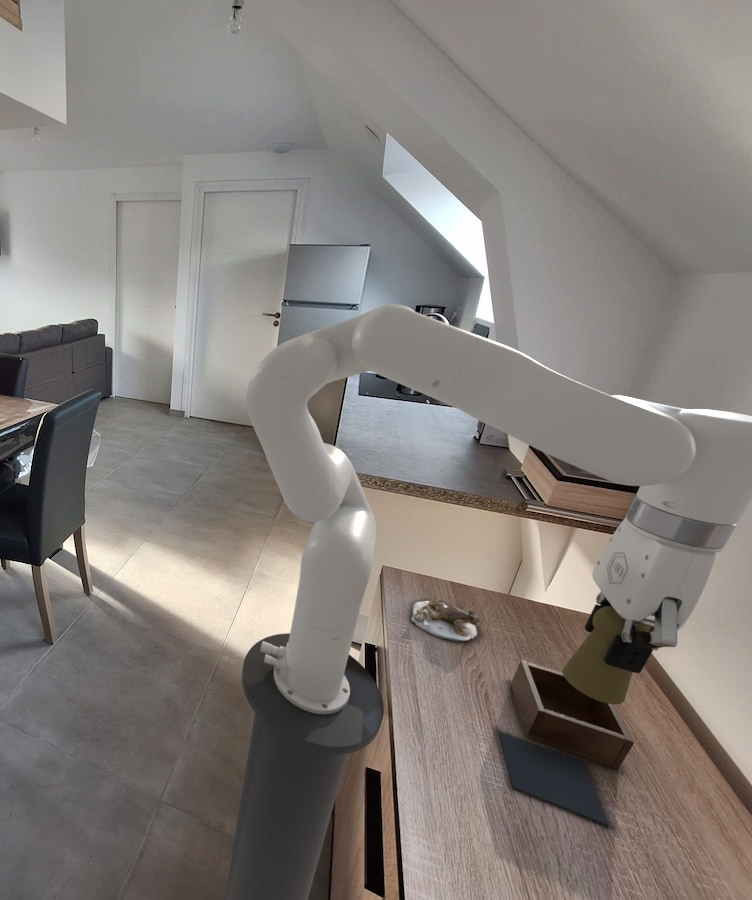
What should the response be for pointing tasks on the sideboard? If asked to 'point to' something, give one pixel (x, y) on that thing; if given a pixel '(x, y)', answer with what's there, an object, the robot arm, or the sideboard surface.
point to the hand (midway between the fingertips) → (610, 648)
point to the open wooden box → (568, 716)
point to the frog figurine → (445, 620)
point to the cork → (600, 660)
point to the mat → (551, 778)
